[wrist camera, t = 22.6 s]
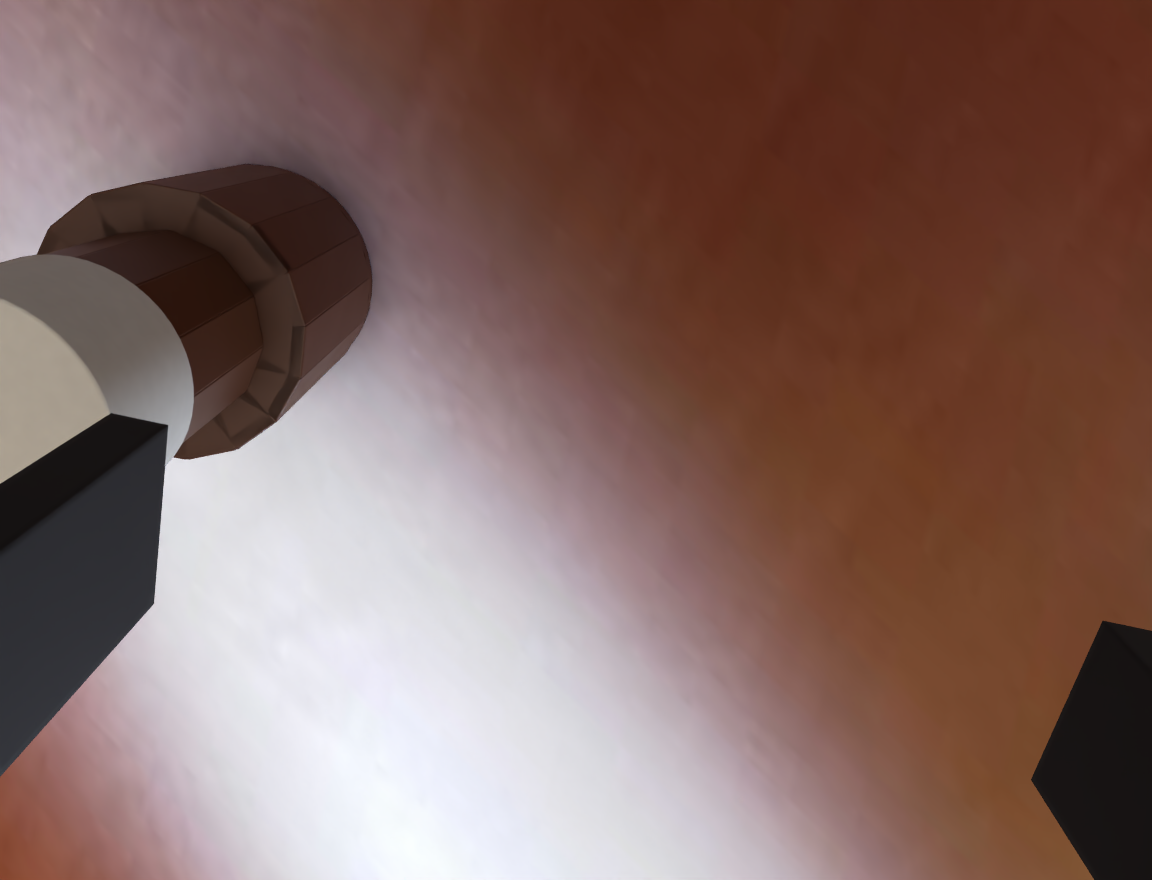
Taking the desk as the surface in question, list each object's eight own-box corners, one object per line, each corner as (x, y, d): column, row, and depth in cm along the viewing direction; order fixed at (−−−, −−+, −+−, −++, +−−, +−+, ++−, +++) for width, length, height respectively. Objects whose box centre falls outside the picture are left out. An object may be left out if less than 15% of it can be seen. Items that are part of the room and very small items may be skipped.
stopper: (151, 187, 29) (-39, 223, 20) (295, 366, 30) (176, 469, 22) (-6, 312, 30) (-245, 396, 22) (140, 477, 32) (-27, 615, 23)
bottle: (277, 119, 39) (73, 130, 24) (415, 303, 41) (308, 419, 26) (114, 248, 41) (-171, 334, 26) (255, 416, 43) (69, 587, 28)
